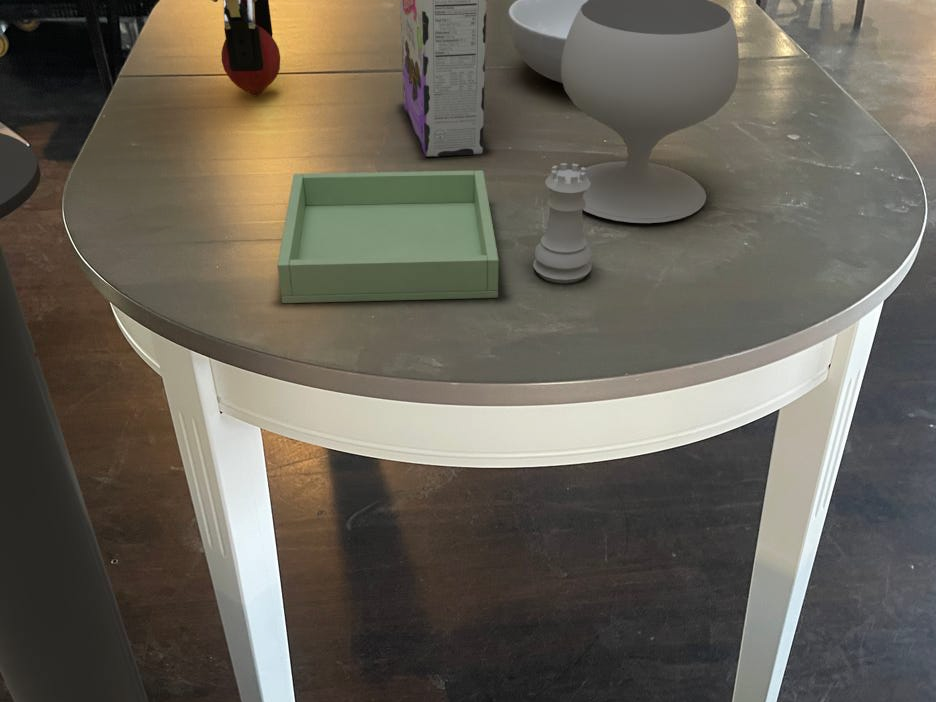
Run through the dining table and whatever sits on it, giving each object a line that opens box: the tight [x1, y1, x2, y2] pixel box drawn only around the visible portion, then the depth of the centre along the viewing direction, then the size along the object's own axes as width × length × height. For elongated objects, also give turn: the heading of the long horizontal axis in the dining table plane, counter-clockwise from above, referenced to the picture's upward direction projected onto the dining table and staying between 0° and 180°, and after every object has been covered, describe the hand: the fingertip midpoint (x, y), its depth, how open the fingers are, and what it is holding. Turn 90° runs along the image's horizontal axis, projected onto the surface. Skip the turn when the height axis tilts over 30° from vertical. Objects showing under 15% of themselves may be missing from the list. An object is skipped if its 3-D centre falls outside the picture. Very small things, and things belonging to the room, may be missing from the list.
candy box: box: [399, 0, 488, 158], centre depth 94 cm, size 14×6×16 cm, turn 12°
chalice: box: [561, 0, 740, 224], centre depth 83 cm, size 14×14×15 cm
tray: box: [277, 170, 500, 304], centre depth 78 cm, size 16×16×3 cm
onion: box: [220, 24, 281, 97], centre depth 103 cm, size 6×6×8 cm
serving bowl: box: [507, 0, 589, 84], centre depth 108 cm, size 21×21×7 cm
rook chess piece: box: [532, 162, 592, 284], centre depth 75 cm, size 4×4×8 cm
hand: (252, 53), depth 103 cm, fingers open, 9 cm apart
